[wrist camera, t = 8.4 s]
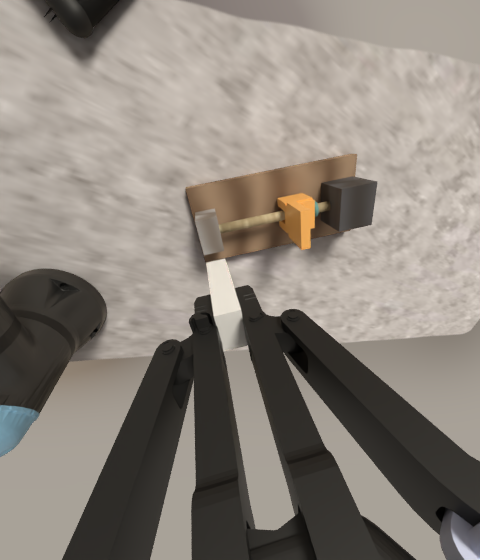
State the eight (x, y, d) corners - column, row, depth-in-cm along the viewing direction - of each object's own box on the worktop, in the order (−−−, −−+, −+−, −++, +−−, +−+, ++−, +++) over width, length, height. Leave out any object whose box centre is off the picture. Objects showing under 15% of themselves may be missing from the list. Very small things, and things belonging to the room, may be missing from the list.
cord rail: (205, 258, 41) (206, 279, 35) (185, 187, 35) (183, 197, 28) (345, 227, 42) (371, 242, 36) (351, 153, 36) (384, 155, 30)
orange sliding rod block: (279, 227, 38) (301, 250, 30) (277, 196, 35) (300, 211, 27) (302, 222, 38) (331, 243, 30) (302, 190, 36) (332, 204, 28)
